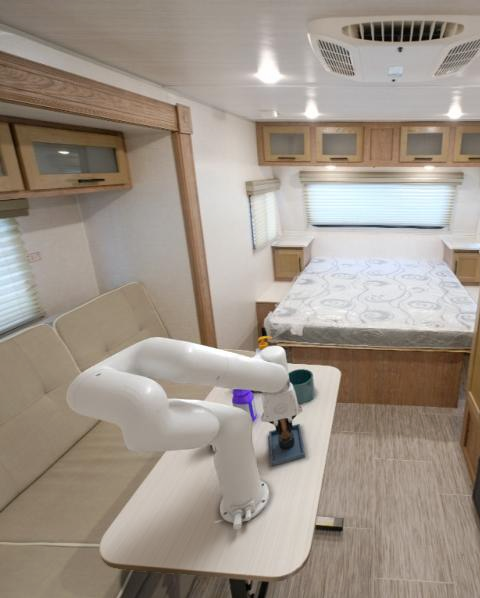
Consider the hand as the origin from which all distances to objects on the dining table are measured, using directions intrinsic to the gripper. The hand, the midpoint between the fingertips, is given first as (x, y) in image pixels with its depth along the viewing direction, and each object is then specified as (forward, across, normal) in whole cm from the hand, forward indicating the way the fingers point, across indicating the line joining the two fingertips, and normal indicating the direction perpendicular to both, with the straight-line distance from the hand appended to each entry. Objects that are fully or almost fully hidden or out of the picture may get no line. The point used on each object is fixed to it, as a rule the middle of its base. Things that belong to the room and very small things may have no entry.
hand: (284, 430), depth 112 cm
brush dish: (+7, 0, 0) cm, 7 cm away
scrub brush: (+5, 0, 0) cm, 5 cm away
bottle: (+7, -13, +18) cm, 23 cm away
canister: (+7, +7, +25) cm, 27 cm away
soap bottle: (+7, -4, +37) cm, 38 cm away
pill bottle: (+7, -21, +8) cm, 23 cm away
